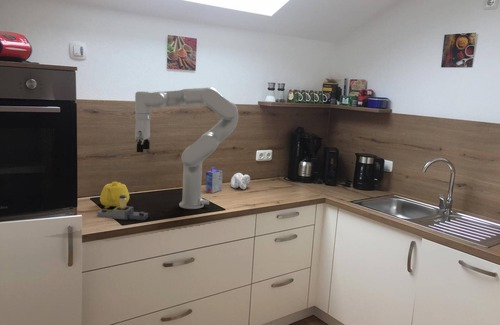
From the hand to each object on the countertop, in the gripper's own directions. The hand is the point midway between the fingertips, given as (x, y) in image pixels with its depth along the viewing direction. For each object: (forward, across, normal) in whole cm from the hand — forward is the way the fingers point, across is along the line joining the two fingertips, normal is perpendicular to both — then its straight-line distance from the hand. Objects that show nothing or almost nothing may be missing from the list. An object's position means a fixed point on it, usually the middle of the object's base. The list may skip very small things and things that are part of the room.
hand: (143, 150), depth 210 cm
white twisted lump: (+29, -48, +46) cm, 72 cm away
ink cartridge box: (+28, -36, +31) cm, 55 cm away
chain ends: (+28, +23, -2) cm, 36 cm away
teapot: (+28, +8, -12) cm, 31 cm away
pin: (+28, +23, -2) cm, 36 cm away
